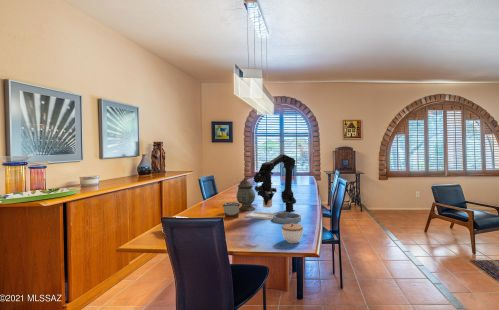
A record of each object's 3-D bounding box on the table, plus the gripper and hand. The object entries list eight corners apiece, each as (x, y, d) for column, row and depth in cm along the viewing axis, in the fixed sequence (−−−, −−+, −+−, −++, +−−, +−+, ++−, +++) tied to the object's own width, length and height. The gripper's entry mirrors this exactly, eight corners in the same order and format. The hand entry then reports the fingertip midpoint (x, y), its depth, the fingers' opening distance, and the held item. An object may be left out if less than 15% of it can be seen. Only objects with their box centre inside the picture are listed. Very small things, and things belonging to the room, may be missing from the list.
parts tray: (254, 213, 221) (253, 211, 221) (278, 215, 212) (278, 213, 212) (245, 217, 209) (245, 215, 209) (270, 220, 200) (270, 217, 200)
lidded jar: (280, 238, 160) (279, 220, 160) (300, 237, 161) (299, 220, 161) (284, 245, 150) (283, 226, 149) (305, 244, 151) (305, 225, 150)
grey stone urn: (253, 212, 225) (253, 178, 224) (235, 211, 228) (234, 178, 227) (257, 208, 239) (256, 176, 238) (239, 208, 241) (238, 176, 241)
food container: (241, 216, 213) (241, 201, 213) (240, 218, 207) (240, 203, 207) (224, 216, 215) (224, 202, 214) (222, 218, 209) (222, 203, 208)
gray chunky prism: (280, 218, 203) (280, 211, 203) (287, 218, 201) (286, 212, 201) (277, 219, 199) (277, 212, 199) (284, 220, 197) (284, 213, 197)
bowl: (279, 216, 211) (279, 211, 211) (304, 218, 202) (304, 214, 202) (268, 222, 195) (268, 217, 195) (295, 225, 186) (295, 220, 186)
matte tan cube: (266, 205, 211) (265, 199, 211) (271, 206, 209) (271, 199, 209) (263, 207, 207) (263, 200, 207) (269, 207, 205) (269, 200, 205)
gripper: (262, 179, 219) (262, 201, 220) (250, 182, 203) (250, 205, 203) (276, 180, 214) (277, 202, 215) (265, 183, 198) (265, 207, 198)
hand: (267, 204), depth 208 cm, fingers closed on matte tan cube, 4 cm apart
